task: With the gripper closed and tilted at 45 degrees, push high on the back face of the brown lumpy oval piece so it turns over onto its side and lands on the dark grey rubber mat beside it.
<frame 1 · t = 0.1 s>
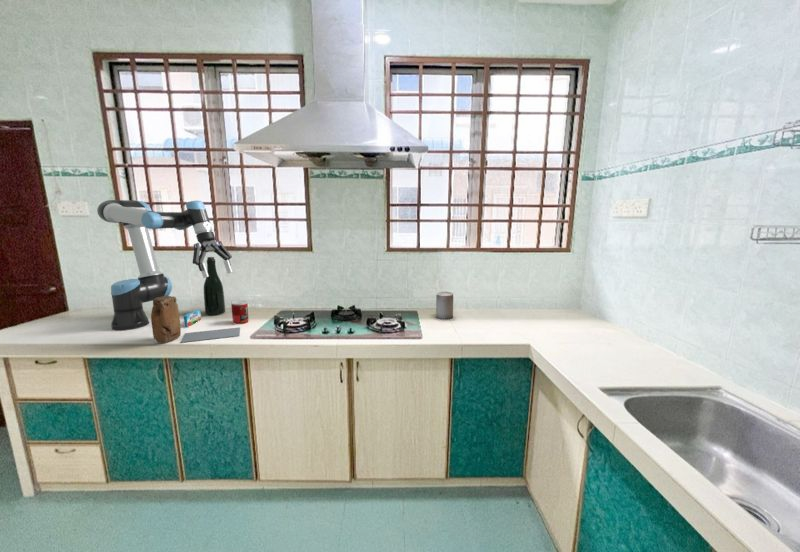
hand: (218, 275, 168), 28 cm above the countertop, tool tilted 20°, fingers open, 13 cm apart
blue snack box: (193, 324, 182), on the countertop
pillar candle: (444, 317, 198), on the countertop
canned food: (240, 322, 185), on the countertop
mat: (212, 335, 165), on the countertop
brown lumpy oval piece: (167, 340, 158), on the countertop
beer bottle: (215, 313, 201), on the countertop
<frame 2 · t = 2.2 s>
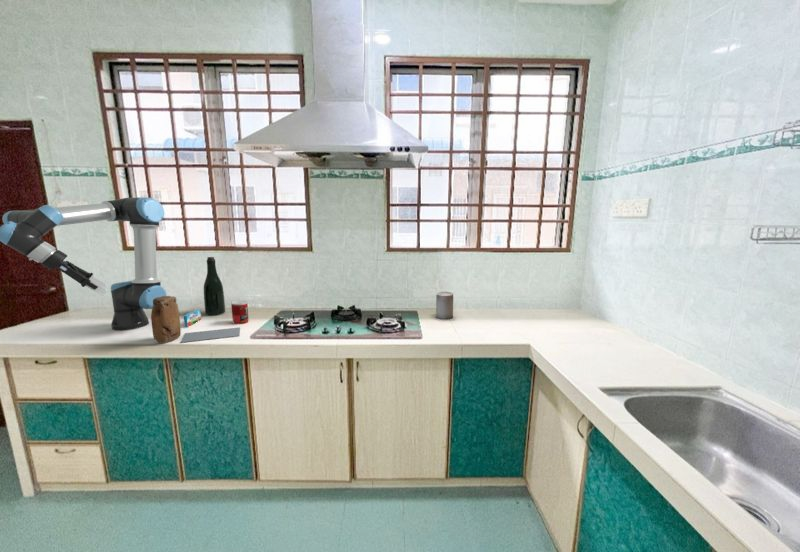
hand: (105, 290, 143), 26 cm above the countertop, tool tilted 45°, fingers open, 13 cm apart
nothing on the countertop moved.
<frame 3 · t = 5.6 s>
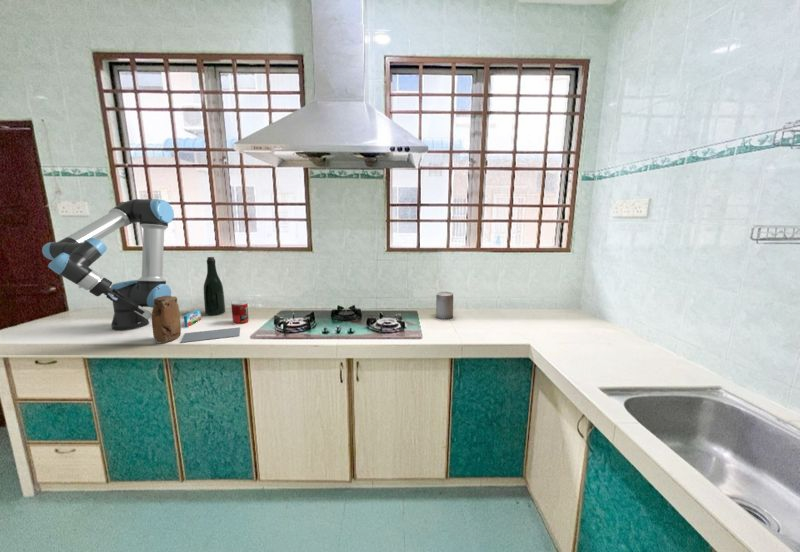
hand: (150, 316, 153), 12 cm above the countertop, tool tilted 45°, fingers closed
brown lumpy oval piece: (167, 340, 158), on the countertop, touching gripper
everything else where it was.
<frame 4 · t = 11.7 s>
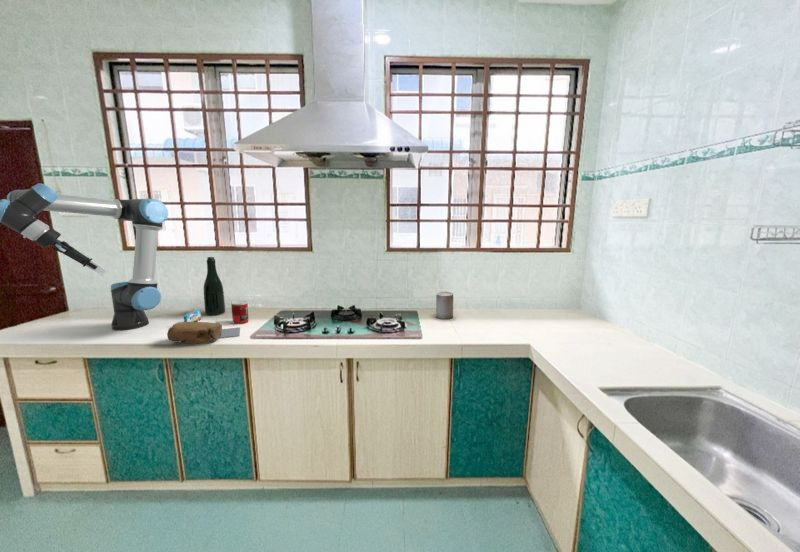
hand: (104, 272, 147), 32 cm above the countertop, tool tilted 45°, fingers closed
brown lumpy oval piece: (173, 332, 156), point 4 cm above the countertop, touching mat
everything else where it was.
at the end: brown lumpy oval piece tilted 91°; brown lumpy oval piece inside the target area (4.1 cm from its centre), point 4.3 cm above the countertop; brown lumpy oval piece touching mat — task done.
